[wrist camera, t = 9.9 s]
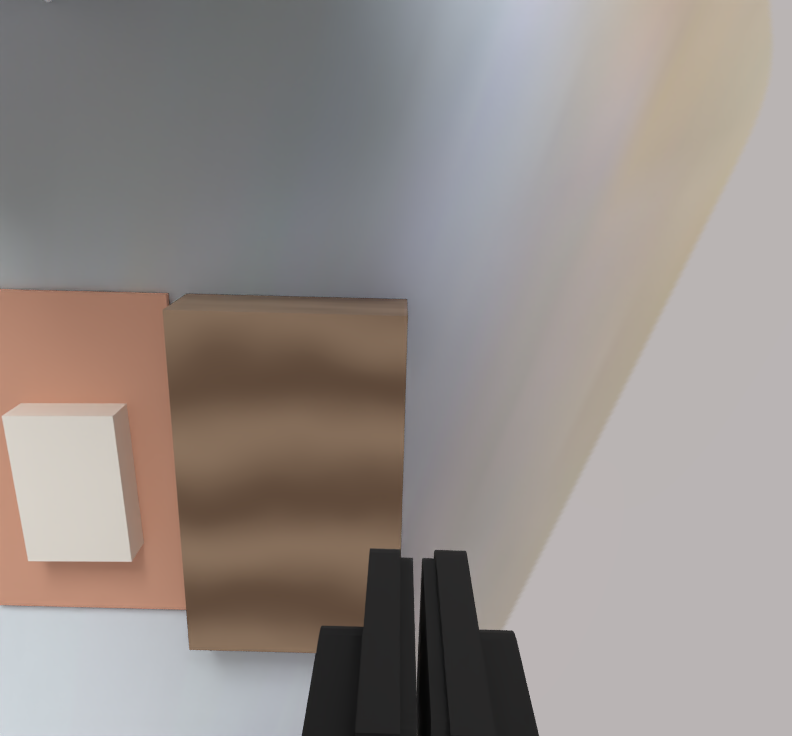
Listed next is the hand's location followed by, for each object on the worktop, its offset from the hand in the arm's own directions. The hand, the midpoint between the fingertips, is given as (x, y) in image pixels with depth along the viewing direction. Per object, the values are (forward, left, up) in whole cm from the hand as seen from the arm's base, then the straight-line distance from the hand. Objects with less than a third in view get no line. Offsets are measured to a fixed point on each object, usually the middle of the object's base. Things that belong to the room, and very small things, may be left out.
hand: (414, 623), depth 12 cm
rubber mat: (+10, -19, -27) cm, 34 cm away
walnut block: (+10, -6, -27) cm, 29 cm away
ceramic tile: (+11, -18, -25) cm, 33 cm away
